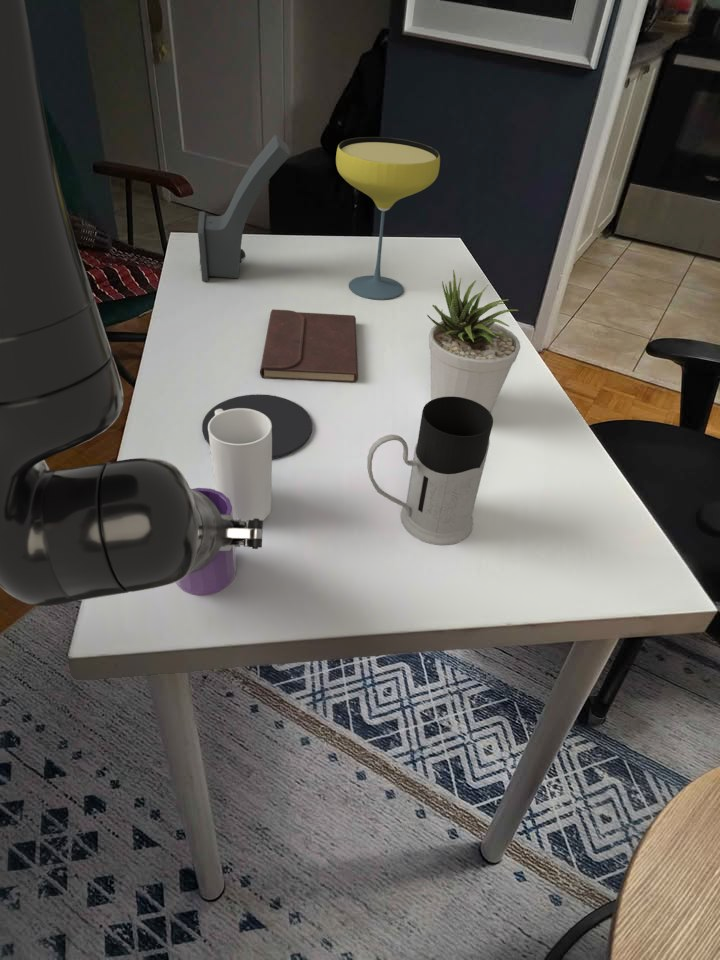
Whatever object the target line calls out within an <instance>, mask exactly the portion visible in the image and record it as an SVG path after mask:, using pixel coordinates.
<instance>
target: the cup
mask: <svg viewBox="0 0 720 960" xmlns="http://www.w3.org/2000/svg"><path fill="white" fill-rule="evenodd" d="M192 489H193V490H196V491H198V492H200V493H202V494H204V495H205V496H207V497H208V498H209V499H210V500H211V501H212V502H213V503H214V504H215V506H216V507H217V509H218V510H219V512H220V514H228V515H232V516H233V511H232V505H231V503H230V500H229V499H228V498H227V497H226V496H225V495H224V494H223V493H221V492H219V491H216V489H213V488H208V487H207V488H206V487H194V488H192ZM236 552H237V551H236V547H235V545H233V546H232V548H231V550H230V551H218V553H217V555H216V556H215V557H214V559H213V560H212V561H211V562H210V563H209V564H208V565H207V566H205V567H204V568H203V569H201V570H199V571H197V572H195V573H192V574H189V575H187V576H186V577H185V578H184V579H182V580H180V581H178V582H176V583H175V584H176V585H177V586H178V588H179V589H180V590H181V591H184V592H185V593H187V594H190V595H195V596H207V595H208V596H209V595H213V594H216V593H219V592H221V591H222V590H223V591H224V589H225V588H228V586H230V584H231V583H232V582H233V581H234V579H235V576H236V574H237V554H236Z"/></svg>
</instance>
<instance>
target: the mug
mask: <svg viewBox="0 0 720 960" xmlns="http://www.w3.org/2000/svg"><path fill="white" fill-rule="evenodd" d="M208 432H209V442H210V445H209V449H210V457H211V464H212V471H213V472H212V473H213V481H214V488H215V489H214V490H216V491H219V492H221V493H223V494H224V495H225V496H226V497H227V498H228V499H229V500H230V503H231V505H232V511H233V519H234V520H236V519H241V521H245V520H254V519H259V520H263V521H264V520H265V519H267V518H268V516H269V515H270V513H271V511H272V494H273V493H272V492H273V480H272V479H273V459H272V424H271V421H270V419H269V418H268V417H267V416H266V415H264V414H263V413H261V412H259V411H256V410H252V409H245V408H236V409H229V410H225V411H223V410H222V409H217V410H215V416H214V417H213V418H212V419H211V420H210V422H209V424H208Z"/></svg>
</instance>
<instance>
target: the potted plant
mask: <svg viewBox="0 0 720 960" xmlns="http://www.w3.org/2000/svg"><path fill="white" fill-rule="evenodd" d="M455 273H456V272H455V270H454V269H453V270H452V274H453V275H452V277H453V278H452V279H453V281H451V280H450V281H448V286H447V283H445V284H444V280H442V281H441V287H442V290H443V294H444V298H445V302H446V305H447V310H448V313H449V316H448V315H447V314H445V312H444V313H443V310H440V309H439V308H438V306H437V304H436V305H435V304H432V306H431V307H433V309H434V310H435V311H436V313H437V314H438V315H439V316H440V318H441V321H440V322H437V321H436V320H435V319H433V318H432V317H431V316H430V315H429V314H426V316H427V318H429V320H430V321H431V322H432V323H433V324H434V325H433V326H432V327H431V328H430V329H429V333H428V347H429V355H430V401H431V400H433V399H436V398H440V397H447V396H454V397H462V398H466V399H470V400H472V401H475V402H477V403H479V404H481V405H482V406H484V407H485V408H486V409H487V410H488V411H489V412H490V413H491V412H492V411H493V408H494V406H495V404H496V402H497V399H498V398H499V395H500V393H501V392H502V391H501V390H502V388H503V386H504V384H505V381H506V380H507V377H508V375H509V373H510V370H511V368H512V366H513V364H514V363H515V362H516V360H517V357H518V355H519V352H520V351H521V342H520V340H519V338H518V337H517V335H515V334H514V333H513V332H512V331H511V330H509V329H507V328H505V327H504V326H506V327H509V328H510V325H509V324H507V323H505V322H504V321H502V320H500V319H497V317H498V316H500V315H503V314H505V313H510V312H519V311H520V310H519V309H511V308H510V309H503V310H499V311H496V312H495V313H493V314H490V315H488V316H486V317H485V318H482V319H480V317H481V316H483V315H484V314H485V313H487V312H488V311H489V310H491V309H493V308H495V307H497V306H498V305H503V304H505V302H507V301H508V299H499V300H496V301H493V302H489V303H487V304H486V305H484V306H481V307H479V304H480V300H481V297H482V295H483V293H484V291H486V289H487V288H488V286H489V284H487V285H486V286H485V287H484V288H483V289H482V290H481V291H480V292H478V293H476V294H475V295H473V296H472V297H471V298H470V299H469V297H470V294H471V291H472V289H473V287H474V285H475V284H476V282H477V279H475V280H473V281H472V282H471V284H470V285H469V286H468V288H467V290H466V291H465V293H464V295H463V299H461V289H460V287H461V282H462V277H460V279H459V282H458V285H457V277H456V274H455ZM473 303H474V304H473ZM497 323H498V324H497ZM502 325H504V326H502Z"/></svg>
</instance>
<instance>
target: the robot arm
mask: <svg viewBox="0 0 720 960" xmlns="http://www.w3.org/2000/svg"><path fill="white" fill-rule="evenodd" d="M72 225H73V224H72V222H71V219H70V215H69V212H68V207H67V203H66V201H65V196H64V193H63V189H62V185H61V181H60V177H59V173H58V169H57V164H56V160H55V157H54V151H53V148H52V144H51V139H50V135H49V129H48V123H47V119H46V113H45V107H44V103H43V96H42V92H41V86H40V79H39V75H38V68H37V64H36V58H35V53H34V47H33V42H32V36H31V30H30V24H29V18H28V12H27V6H26V1H25V0H0V588H1V589H2V590H3V591H4V592H6V593H7V594H8V595H9V596H11V597H12V598H14V599H16V600H17V601H20V602H22V603H24V604H27V605H29V606H36V607H50V606H57V605H64V604H70V603H75V602H76V603H77V602H80V601H86V600H94V599H99V598H105V597H110V596H117V595H122V594H128V593H134V592H141V591H145V590H151V589H156V588H161V587H165V586H169V585H172V584H176V582H178V581H180V580H182V579H184V578H185V577H186V576H187V575H189V574H192V573H195V572H197V571H199V570H201V569H203V568H204V567H205V566H207V565H208V564H209V563H210V562H211V561H212V560H213V559H214V557H215V556H216V555H217V553H218V551H230V550H231V548H232V546H233V545H235V548H240V547H241V546H243V547H244V548H251V549H252V550H258V549H259V548H263V529H264V520H259V519H254V520H245V521H241V519H236V520H234V519H233V516H232V515H228V514H220V512H219V510H218V509H217V507H216V506H215V504H214V503H213V502H212V501H211V500H210V499H209V498H208V497H207V496H205V495H204V494H202V493H200V492H198V491H196V490H193V489H194V488H191V487H190V484H189V483H188V480H187V479H186V478H185V475H184V474H183V472H181V470H179V468H178V467H177V466H176V465H174V464H173V463H172V462H169V461H167V460H165V459H160V458H154V457H152V458H151V457H138V458H128V459H121V460H113V461H110V462H101V463H96V464H88V465H82V466H76V467H70V468H63V469H54V470H52V469H50V467H49V465H48V464H47V461H46V460H47V459H49V458H51V457H54V456H56V455H59V454H61V453H64V452H67V451H69V450H72V449H74V448H75V447H79V446H80V445H82V444H84V443H87V442H88V441H91V440H93V439H94V438H96V437H97V436H99V435H101V434H103V433H104V432H105V431H107V430H109V428H110V427H111V426H113V424H114V423H115V422H116V421H117V419H118V418H119V417H120V414H121V412H122V410H123V406H124V390H123V385H122V380H121V377H120V373H119V371H118V367H117V364H116V362H115V359H114V355H113V353H112V348H111V346H110V342H109V339H108V336H107V333H106V330H105V327H104V323H103V321H102V317H101V314H100V312H99V311H100V310H99V308H98V304H97V302H96V299H95V296H94V292H93V290H92V286H91V283H90V280H89V277H88V275H87V271H86V268H85V265H84V262H83V259H82V256H81V253H80V250H79V247H78V242H77V239H76V236H75V232H74V229H73V226H72Z"/></svg>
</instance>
